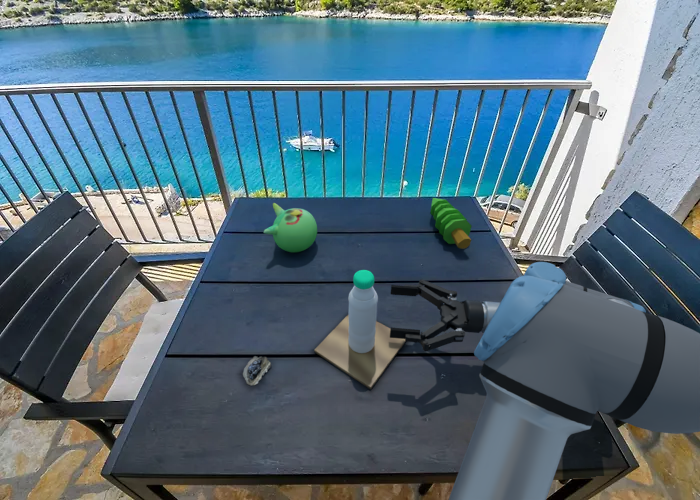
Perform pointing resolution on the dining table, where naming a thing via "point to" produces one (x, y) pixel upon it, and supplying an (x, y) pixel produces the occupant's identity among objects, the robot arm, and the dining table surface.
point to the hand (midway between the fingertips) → (390, 309)
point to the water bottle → (362, 312)
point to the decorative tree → (451, 223)
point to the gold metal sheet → (360, 364)
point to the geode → (255, 369)
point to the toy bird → (293, 229)
